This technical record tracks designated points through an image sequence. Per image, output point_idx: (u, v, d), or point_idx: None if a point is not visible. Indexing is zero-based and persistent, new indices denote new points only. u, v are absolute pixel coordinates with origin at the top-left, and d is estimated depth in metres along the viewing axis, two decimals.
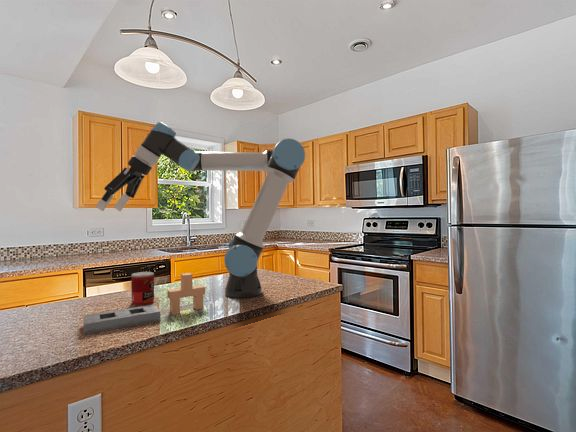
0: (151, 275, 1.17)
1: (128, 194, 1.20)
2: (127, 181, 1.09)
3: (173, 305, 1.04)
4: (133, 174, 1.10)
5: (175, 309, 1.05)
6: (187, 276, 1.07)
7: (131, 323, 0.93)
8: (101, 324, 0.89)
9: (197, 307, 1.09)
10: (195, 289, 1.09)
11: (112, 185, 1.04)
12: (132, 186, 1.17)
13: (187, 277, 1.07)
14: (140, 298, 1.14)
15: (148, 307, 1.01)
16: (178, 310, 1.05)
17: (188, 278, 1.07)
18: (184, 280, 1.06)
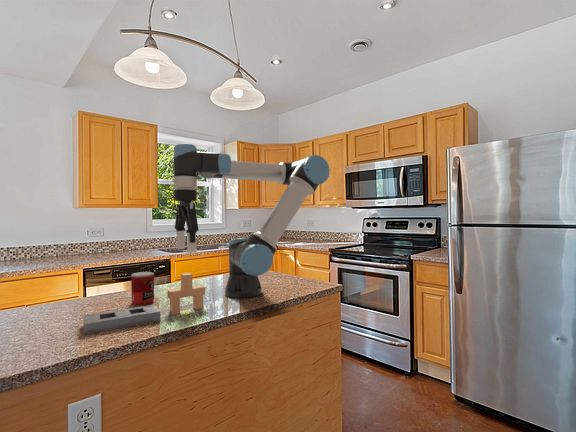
0: (151, 275, 1.17)
1: (180, 229, 1.14)
2: None
3: (173, 305, 1.04)
4: None
5: (175, 309, 1.05)
6: (187, 276, 1.07)
7: (131, 323, 0.93)
8: (101, 324, 0.89)
9: (197, 307, 1.09)
10: (195, 289, 1.09)
11: (194, 224, 1.01)
12: (184, 219, 1.12)
13: (187, 277, 1.07)
14: (140, 298, 1.14)
15: (148, 307, 1.01)
16: (178, 310, 1.05)
17: (188, 278, 1.07)
18: (184, 280, 1.06)
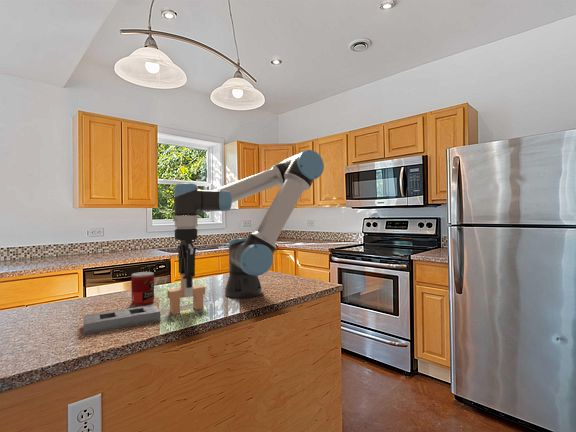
0: (151, 275, 1.17)
1: None
2: None
3: (173, 305, 1.04)
4: None
5: (175, 309, 1.05)
6: None
7: (131, 323, 0.93)
8: (101, 324, 0.89)
9: (197, 307, 1.09)
10: (195, 289, 1.09)
11: (191, 271, 1.04)
12: None
13: None
14: (140, 298, 1.14)
15: (148, 307, 1.01)
16: (178, 310, 1.05)
17: None
18: None
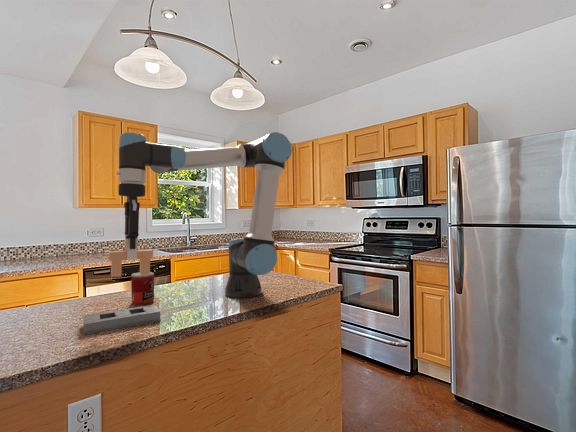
0: (151, 275, 1.17)
1: None
2: None
3: (113, 267, 0.93)
4: None
5: (115, 272, 0.94)
6: None
7: (131, 323, 0.93)
8: (101, 324, 0.89)
9: (142, 272, 0.98)
10: (141, 252, 0.97)
11: (134, 229, 0.93)
12: None
13: None
14: (140, 298, 1.14)
15: (148, 307, 1.01)
16: (119, 273, 0.94)
17: None
18: None
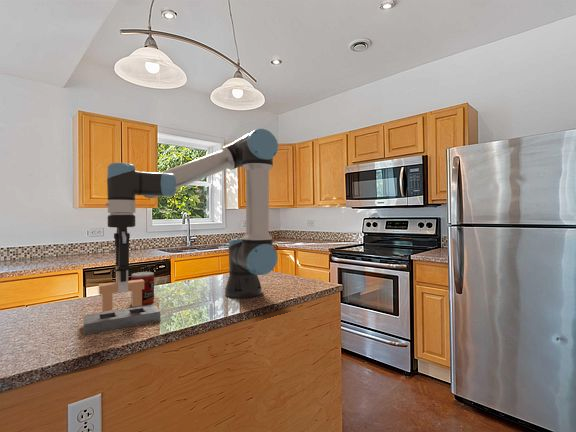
0: (151, 275, 1.17)
1: None
2: None
3: (104, 301, 0.92)
4: (127, 233, 0.94)
5: (106, 306, 0.92)
6: None
7: (131, 323, 0.93)
8: (101, 324, 0.89)
9: (134, 304, 0.96)
10: (132, 283, 0.96)
11: (124, 262, 0.91)
12: None
13: None
14: None
15: (148, 307, 1.01)
16: (110, 307, 0.92)
17: None
18: None
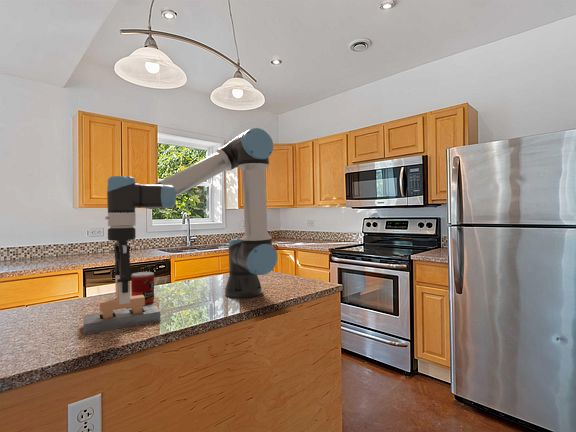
0: (151, 275, 1.17)
1: (120, 273, 1.01)
2: None
3: (104, 318, 0.92)
4: (127, 246, 0.94)
5: None
6: None
7: (131, 323, 0.93)
8: (101, 324, 0.89)
9: None
10: (132, 299, 0.96)
11: (126, 272, 0.89)
12: None
13: None
14: None
15: (148, 307, 1.01)
16: None
17: None
18: (118, 289, 0.94)
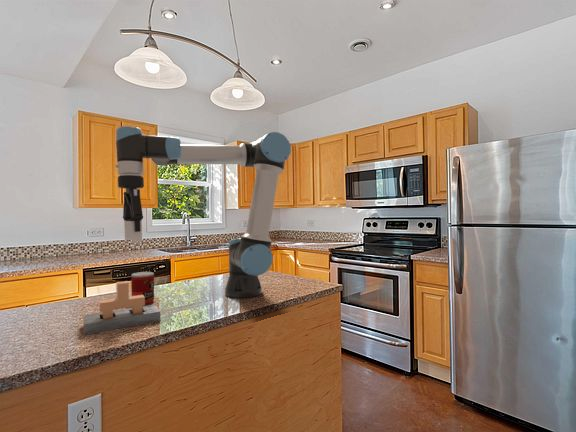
0: (151, 275, 1.17)
1: (129, 219, 1.07)
2: None
3: (104, 318, 0.92)
4: None
5: None
6: (122, 285, 0.94)
7: (131, 323, 0.93)
8: (101, 324, 0.89)
9: None
10: (132, 299, 0.96)
11: (138, 211, 0.94)
12: None
13: (122, 286, 0.94)
14: None
15: (148, 307, 1.01)
16: None
17: (123, 287, 0.94)
18: (118, 289, 0.94)
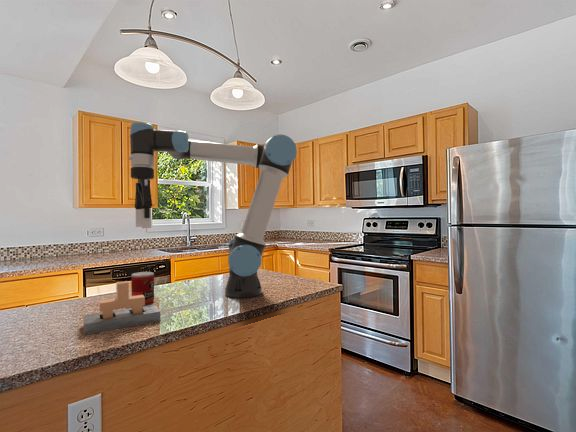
0: (151, 275, 1.17)
1: (139, 208, 1.17)
2: None
3: (104, 318, 0.92)
4: None
5: None
6: (122, 285, 0.94)
7: (131, 323, 0.93)
8: (101, 324, 0.89)
9: None
10: (132, 299, 0.96)
11: (148, 199, 1.03)
12: None
13: (122, 286, 0.94)
14: None
15: (148, 307, 1.01)
16: None
17: (123, 287, 0.94)
18: (118, 289, 0.94)
